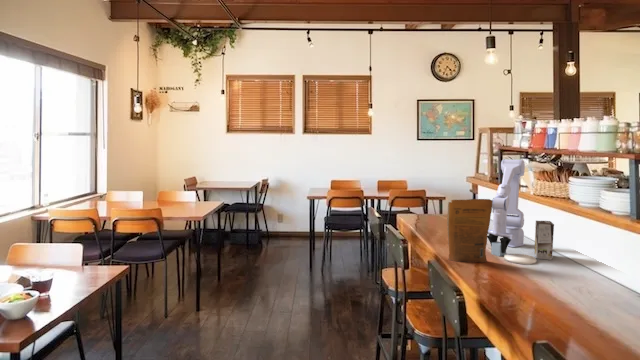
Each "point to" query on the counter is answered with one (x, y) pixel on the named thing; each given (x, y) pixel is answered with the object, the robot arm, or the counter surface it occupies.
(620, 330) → the counter surface
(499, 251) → the block
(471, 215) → the pancake mix bag
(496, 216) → the robot arm
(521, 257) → the saucer
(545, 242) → the coffee box
